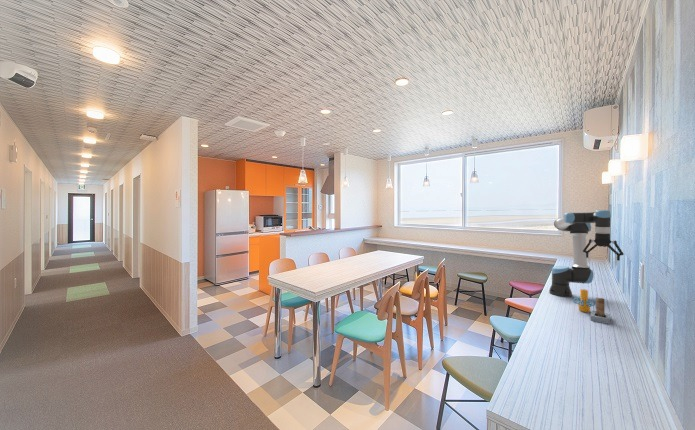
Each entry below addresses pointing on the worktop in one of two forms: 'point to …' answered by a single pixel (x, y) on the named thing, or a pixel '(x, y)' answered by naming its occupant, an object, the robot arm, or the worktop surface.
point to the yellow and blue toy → (584, 301)
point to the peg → (600, 307)
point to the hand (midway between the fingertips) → (602, 263)
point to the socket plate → (600, 318)
